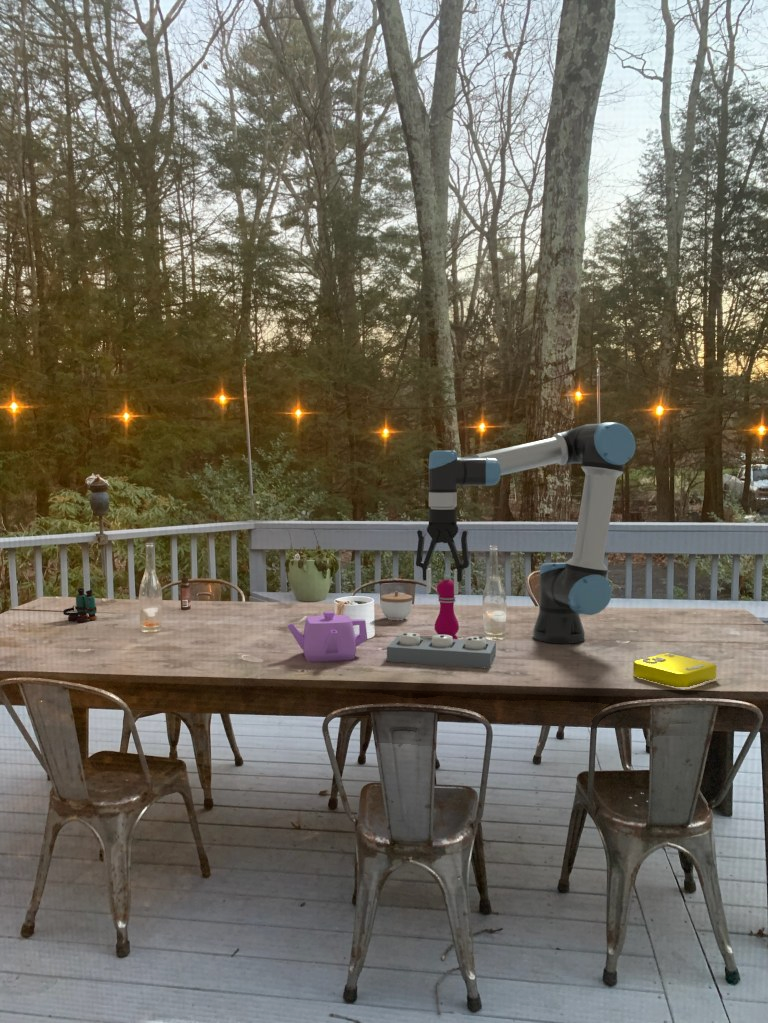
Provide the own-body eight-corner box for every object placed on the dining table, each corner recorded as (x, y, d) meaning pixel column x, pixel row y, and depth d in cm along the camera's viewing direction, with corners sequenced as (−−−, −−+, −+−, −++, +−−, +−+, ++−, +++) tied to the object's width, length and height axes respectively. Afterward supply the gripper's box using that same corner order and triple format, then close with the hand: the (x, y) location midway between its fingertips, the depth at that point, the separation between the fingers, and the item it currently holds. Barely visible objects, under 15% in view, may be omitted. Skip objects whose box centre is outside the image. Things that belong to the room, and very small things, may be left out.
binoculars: (56, 593, 253) (82, 586, 261) (60, 624, 254) (86, 615, 263) (73, 596, 248) (99, 588, 256) (77, 627, 250) (103, 618, 258)
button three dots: (486, 649, 207) (487, 635, 206) (484, 654, 201) (484, 640, 201) (466, 648, 208) (466, 634, 208) (463, 653, 203) (463, 639, 202)
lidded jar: (414, 616, 262) (414, 589, 262) (408, 623, 252) (408, 594, 251) (384, 615, 265) (384, 588, 264) (377, 621, 254) (377, 593, 254)
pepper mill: (457, 645, 222) (457, 577, 220) (432, 644, 223) (433, 576, 222) (460, 639, 229) (460, 573, 227) (436, 638, 230) (436, 572, 229)
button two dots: (421, 645, 211) (421, 632, 211) (417, 650, 206) (417, 636, 205) (402, 644, 212) (402, 631, 212) (397, 649, 207) (397, 635, 207)
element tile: (683, 693, 178) (684, 673, 178) (629, 678, 190) (629, 659, 190) (719, 682, 187) (720, 662, 186) (665, 668, 199) (666, 650, 199)
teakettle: (371, 653, 213) (371, 610, 212) (334, 667, 199) (333, 620, 198) (323, 645, 222) (323, 603, 221) (285, 658, 208) (284, 613, 207)
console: (495, 655, 210) (495, 641, 210) (490, 668, 197) (490, 653, 197) (398, 649, 217) (398, 635, 216) (386, 661, 204) (386, 646, 204)
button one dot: (453, 647, 209) (454, 634, 209) (450, 652, 203) (450, 638, 203) (433, 646, 210) (433, 632, 210) (430, 651, 205) (430, 637, 205)
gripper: (481, 507, 205) (480, 592, 207) (409, 506, 210) (409, 589, 212) (477, 509, 198) (477, 597, 200) (403, 508, 203) (403, 593, 205)
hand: (442, 592), depth 206 cm, fingers open, 7 cm apart
